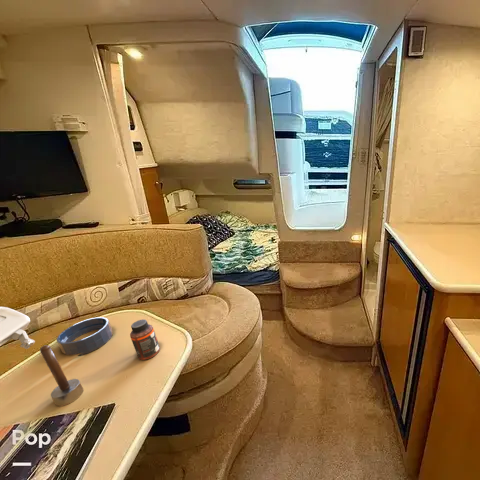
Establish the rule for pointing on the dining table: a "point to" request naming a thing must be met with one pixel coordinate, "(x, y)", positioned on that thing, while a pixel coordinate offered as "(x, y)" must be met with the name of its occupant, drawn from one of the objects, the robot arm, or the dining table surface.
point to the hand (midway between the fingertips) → (13, 359)
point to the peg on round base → (61, 380)
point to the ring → (88, 342)
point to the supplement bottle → (144, 339)
